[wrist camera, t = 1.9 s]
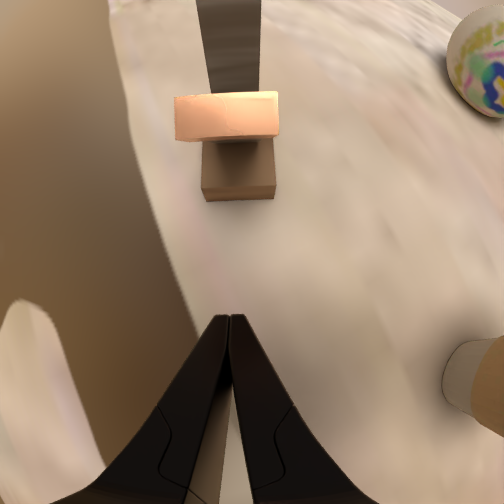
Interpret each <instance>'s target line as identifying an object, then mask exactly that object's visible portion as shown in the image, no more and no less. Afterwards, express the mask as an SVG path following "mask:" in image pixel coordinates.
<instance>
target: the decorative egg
mask: <svg viewBox="0 0 504 504" xmlns="http://www.w3.org/2000/svg"><path fill="white" fill-rule="evenodd" d="M446 62H447V70H448V75H449V78H450V80H451V82H452V84H453V86H454V88H455V89H456V90H457V92H458V93H459V94H460V96H461V97H462V98H463V99H464V100H465V101H466V102H467V103H468V104H469V105H470V106H472V107H473V108H474V109H475V110H477V111H478V112H480V113H482V114H484V115H487V116H490V117H497V118H504V5H492V6H487V7H484V8H480V9H478V10H476V11H475V12H472V13H471V14H470V15H468V16H467V17H466V18H464V20H462V21H461V22H460V23H459V25H458V26H457V27H456V29H455V30H454V32H453V34H452V36H451V38H450V41H449V44H448V48H447V57H446Z"/></svg>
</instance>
